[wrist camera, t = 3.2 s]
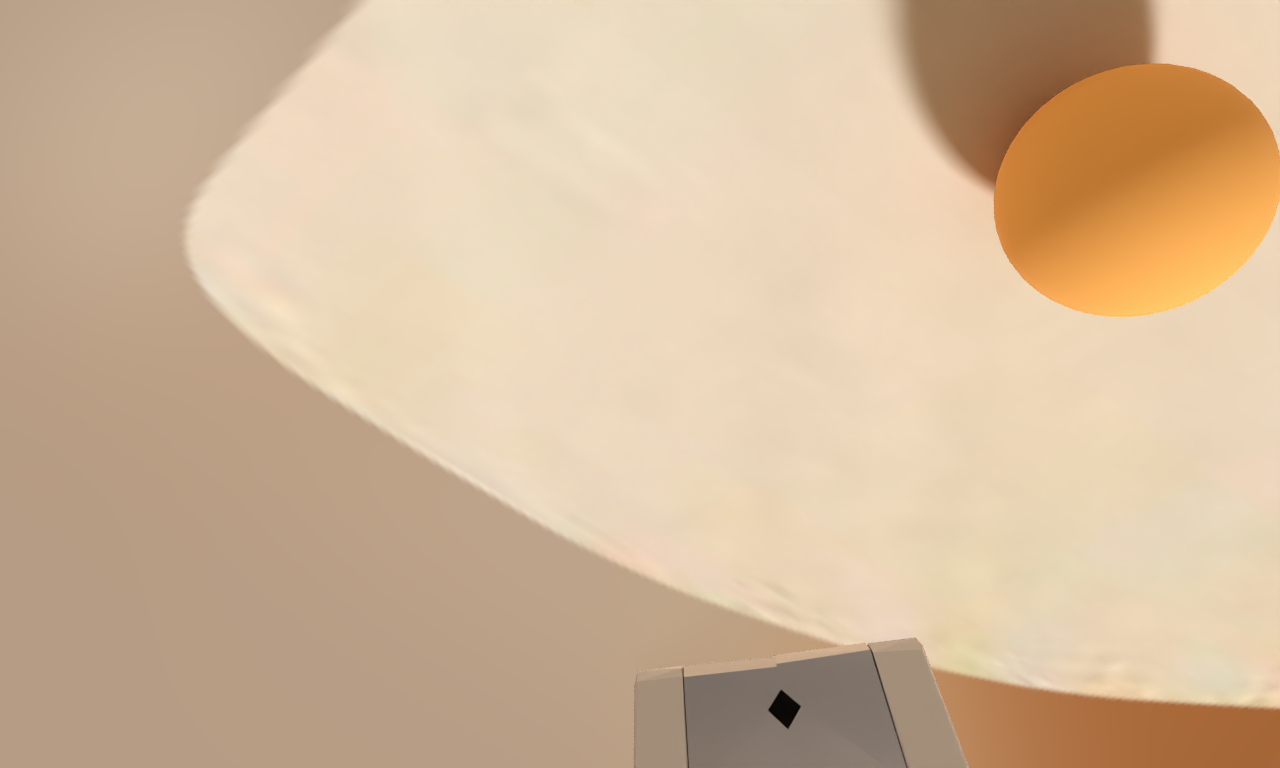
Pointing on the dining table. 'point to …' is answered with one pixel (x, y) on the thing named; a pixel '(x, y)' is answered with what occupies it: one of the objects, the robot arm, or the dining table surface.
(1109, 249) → the ball
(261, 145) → the dining table surface
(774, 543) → the dining table surface
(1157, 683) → the dining table surface
